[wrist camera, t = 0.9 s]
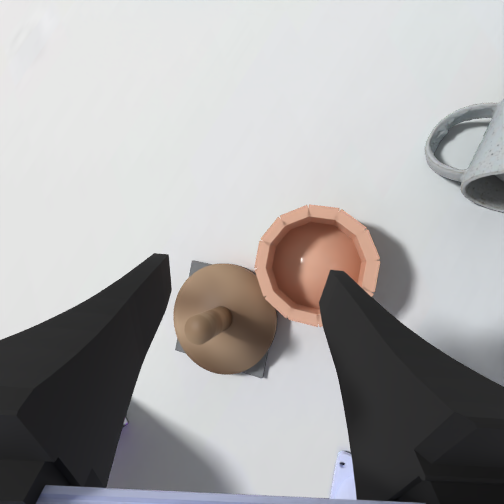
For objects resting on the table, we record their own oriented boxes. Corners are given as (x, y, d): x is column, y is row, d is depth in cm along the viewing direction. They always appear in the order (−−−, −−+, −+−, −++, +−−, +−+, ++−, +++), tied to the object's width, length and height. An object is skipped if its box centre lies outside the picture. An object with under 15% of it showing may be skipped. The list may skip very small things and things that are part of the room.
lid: (265, 385, 25) (247, 420, 19) (170, 353, 28) (130, 375, 23) (286, 275, 25) (274, 277, 19) (188, 255, 28) (153, 252, 23)
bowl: (360, 328, 23) (366, 339, 20) (256, 303, 26) (246, 309, 23) (379, 221, 24) (389, 214, 20) (274, 208, 26) (267, 199, 23)
